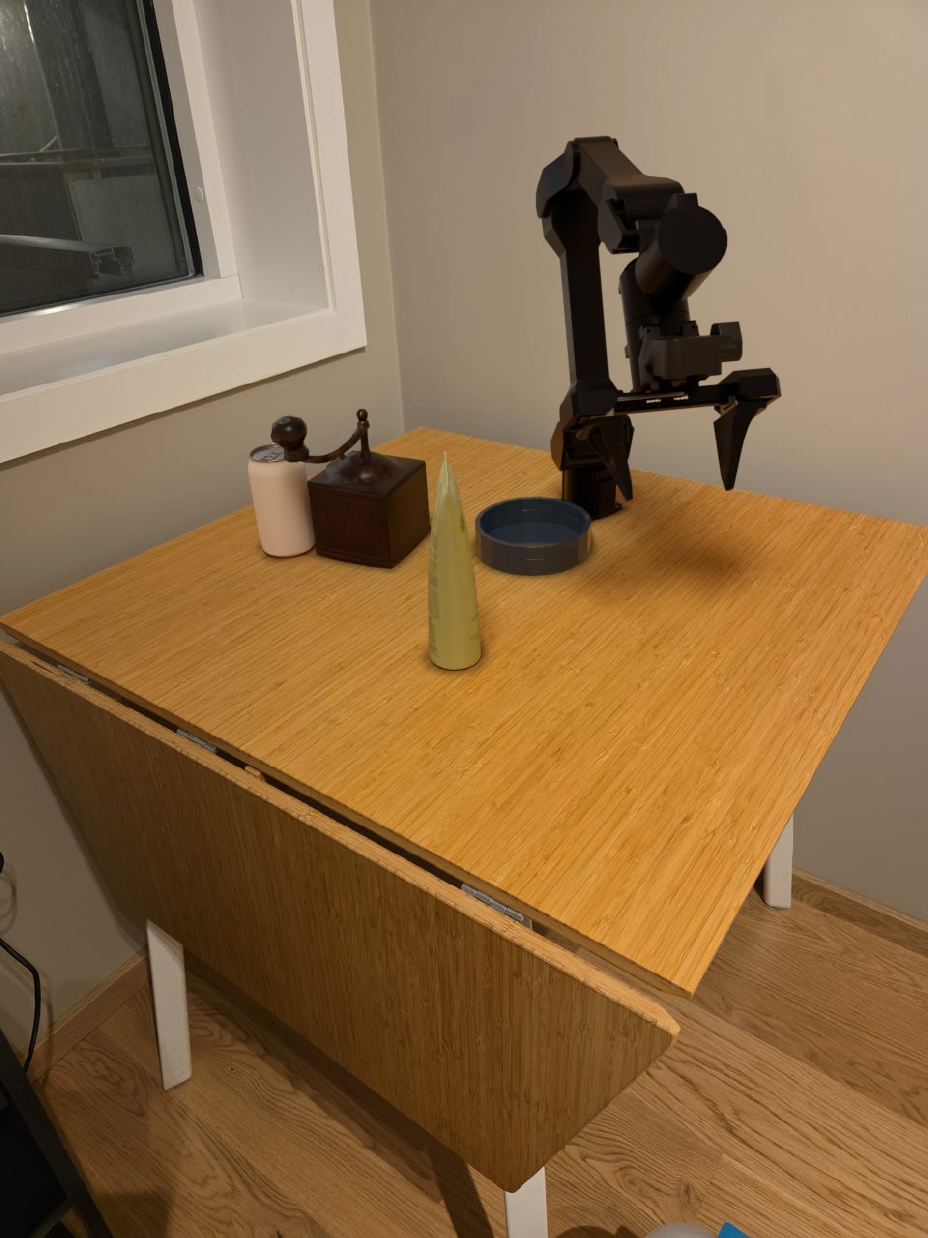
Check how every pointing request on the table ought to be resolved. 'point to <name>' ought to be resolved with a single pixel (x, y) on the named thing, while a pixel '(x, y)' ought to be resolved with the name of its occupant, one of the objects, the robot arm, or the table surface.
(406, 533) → the manual coffee grinder
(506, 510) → the basin
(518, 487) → the table surface
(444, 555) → the tube
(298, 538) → the can
